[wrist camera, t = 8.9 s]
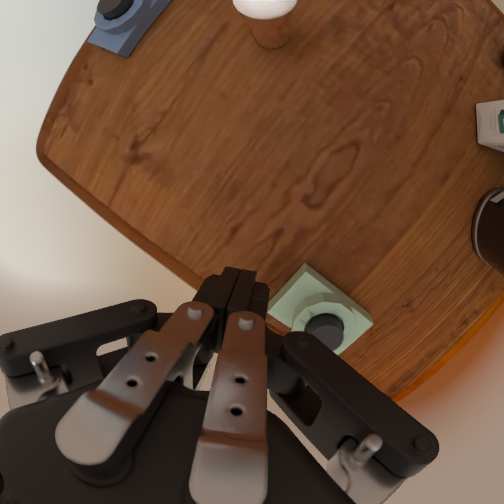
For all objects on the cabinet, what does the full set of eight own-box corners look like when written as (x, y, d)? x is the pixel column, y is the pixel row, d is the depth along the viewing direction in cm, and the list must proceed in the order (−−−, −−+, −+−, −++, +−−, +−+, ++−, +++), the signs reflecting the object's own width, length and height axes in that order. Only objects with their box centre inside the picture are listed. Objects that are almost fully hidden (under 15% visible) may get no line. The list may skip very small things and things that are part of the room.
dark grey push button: (120, -7, 16) (110, -14, 14) (139, -3, 16) (130, -10, 14) (102, 16, 17) (91, 11, 15) (120, 22, 17) (109, 15, 15)
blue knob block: (144, -17, 18) (129, -30, 14) (180, -8, 18) (167, -24, 15) (96, 45, 21) (76, 37, 17) (128, 58, 22) (108, 49, 18)
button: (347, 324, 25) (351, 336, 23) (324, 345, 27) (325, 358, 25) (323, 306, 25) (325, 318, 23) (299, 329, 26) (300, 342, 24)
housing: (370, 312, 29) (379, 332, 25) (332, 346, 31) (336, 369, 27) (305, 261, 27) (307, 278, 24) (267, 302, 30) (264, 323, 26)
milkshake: (311, 33, 19) (320, -21, 10) (271, 63, 21) (261, 16, 12) (277, 7, 18) (270, -50, 9) (238, 36, 20) (212, -14, 11)
